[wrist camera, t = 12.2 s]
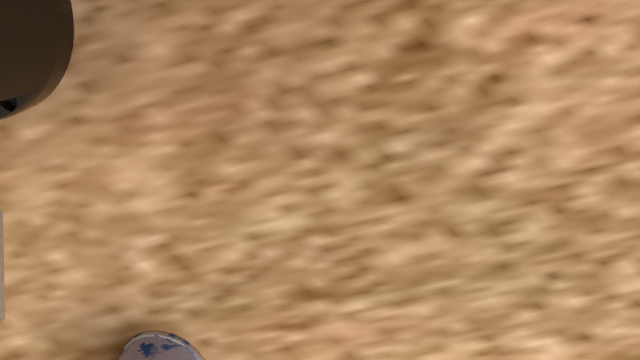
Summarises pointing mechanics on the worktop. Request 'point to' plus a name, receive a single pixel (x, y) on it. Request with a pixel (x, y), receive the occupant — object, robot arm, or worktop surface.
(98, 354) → the worktop surface
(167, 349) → the aerosol can
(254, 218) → the worktop surface
